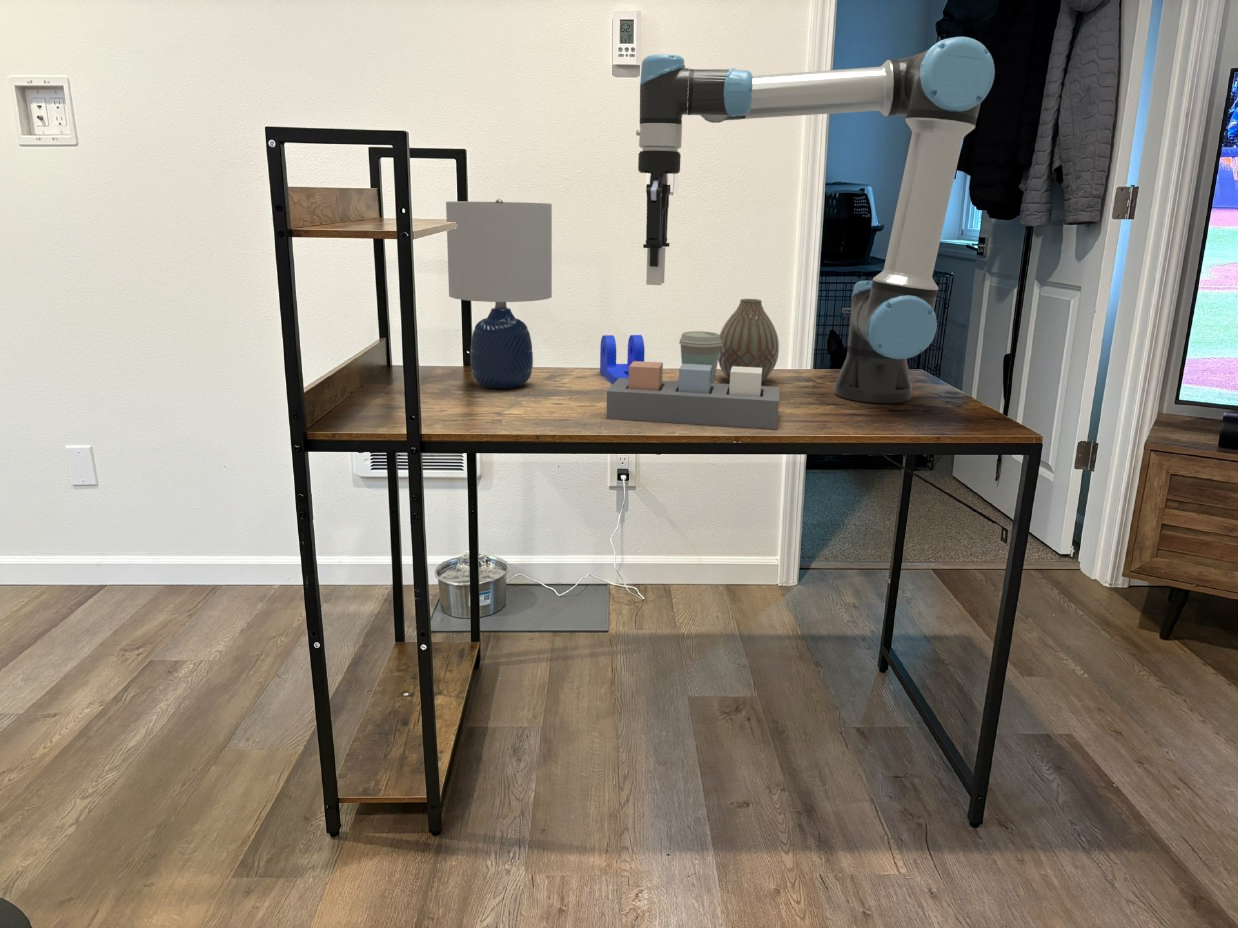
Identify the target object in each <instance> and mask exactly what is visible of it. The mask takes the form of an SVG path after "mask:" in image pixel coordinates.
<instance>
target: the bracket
mask: <svg viewBox="0 0 1238 928" xmlns="http://www.w3.org/2000/svg"><path fill="white" fill-rule="evenodd" d="M627 341H628V342H627V363H617V341H616V338H615V335H614V334H613V335H611V334H607V335H606V334H605V335H602V337H601V338H600V347H599V348H600V351H599V355H600V356H599V357H600V358H599V361H600V362H599V364H600V365H599V373H600V374H601V376H603V378H604V379H606V380H607V381H609V383H610V384H611V385H613V384H614V383H615V382H616V380H617V379H618V378H627V379H629V366H630V365H631V364H632V362H633V361H642V362H645V342H644V337H643V335H641V334H631V335H629V337H628V340H627Z"/></svg>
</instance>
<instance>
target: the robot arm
mask: <svg viewBox="0 0 1238 928" xmlns="http://www.w3.org/2000/svg"><path fill="white" fill-rule="evenodd" d="M640 68H641V72H640V83H639V129H637V130H635V135H636V136H638V137H639V138H638V141H639V142H638V145H639V146H638V147H639V148H640V149H642V150H641V151H639V152H638V155H637V156H638V158H637V159H638V161H637V162H638V163H637V164H638V165H637V166H638V167H637V168H638V169H637V170H638V173H641V174H650V178H649V183H647V184H646V186H645V188H646V189H645V194H646V223H645V224H646V228H645V229H646V231H645V232H646V234H645V243H644V244H643V245H642V248H643V249H647V250H646V251H647V252H646V279H645V281H646V282H645V283H646V284H645V285H646V286H647V285H648V286H662V284H665V271H666V270H665V268H666V248H670V244H671V243H670V242H667V241H668V224H669V223H668V219H669V206H670V194H671V184H668V174H670V175H671V174H672V175H675V174H676V175H677V174H679V173H681V172H680V171H681V153H680V151H678V150H679V149H681V148H682V141H683V140H682V139H683V137H682V136H683V135H682V134H683V124H682V122H683V115H684V116H685V115H686V116H700V117H702V118H703V119H704V121H707V122H709V123H713V124H714V123H715V124H718V123H722V122H725V121H738V120H750V119H763V118H765V119H766V118H780V117H799V116H811V115H812V116H813V115H828V114H829V115H831V114H843V113H845V114H846V113H859V112H860V113H862V112H875V111H876V112H880V113H881V114H882V115H883V116H884V117H888V116H890V117H891V116H906V117H905V122H906V125H908V128H909V129H910V130H911V137H910V142H909V145H908V152H907V157H906V161H905V165H904V170H903V175H902V180H901V185H900V190H899V195H898V200H897V205H896V209H895V214H894V220H893V222H892V223H893V224H892V229H891V233H890V236H889V237H890V238H889V243H888V247H887V248H888V249H887V252H886V258H885V263H884V265H883V266H884V267H883V270H882V271H881V272H880V273H878V274H877V275H875V276H874V277H873V278H872V280H859V281H857V282H856V283H855V284H854V286H853V289H852V295H851V310H850V312H851V313H850V320H849V331H848V332H849V333H848V339H847V340H848V342H847V353H846V358H845V360H844V362H843V365H842V367H841V368H840V371H839V374H838V376H837V379H836V380H835V384H834V385H835V386H834V394H835V395H836V396H838V397H839V398H843V399H847V400H851V401H857V402H863V403H872V404H874V403H875V404H899V403H905V402H908V401H910V400H912V395H913V385H912V380H911V375H910V370H909V365H908V360H907V359H911V358H914V357H916V356H918V355H919V354H921V353H923V352H924V351H925V350H926V349H927V348H929V346H930V345H931V343H932V342H933V340H934V338H935V336H936V333H937V329H938V327H937V326H938V321H937V315H936V312H935V306H936V301H937V296H938V292H939V286H938V285H937V284H936V282H935V280H934V278H933V276H934V270H935V265H936V261H937V256H938V253H939V249H940V248H939V247H940V243H941V239H942V233H943V229H944V224H945V220H946V215H947V213H948V208H949V204H950V203H949V202H950V198H951V194H952V190H953V186H954V182H955V176H956V172H957V167H958V163H959V158H960V154H961V150H962V146H963V141H964V138H965V137H966V136H967V135H968V134H969V133H970V132H972V131H973V130H975V129H976V123H977V120H978V115H979V112H980V109H981V108H980V107H981V103H982V102H983V101H984V100H985V99H986V97H987V96H988V94H989V93H990V91H991V89H992V86H993V84H994V80H995V73H996V71H995V63H994V59H993V56H992V54H991V53H990V51H989V50H988V48H986V46H985V45H984V44H983V43H982V42H980V41H978V40H976V39H975V38H971V37H967V36H955V37H949V38H944V39H942V40H939V41H938V42H936V43H935V44H933V45H932V46H931V47H930V48H929V49H927V50H925V51H922V52H921V53H918V54H915V55H912V56H907V57H904V58H897V59H887V60H885V62H884V63H883V64H882V65H880V66H873V67H872V66H871V67H859V68H858V67H856V68H845V69H843V68H842V69H829V70H828V69H827V70H815V71H801V72H787V73H774V74H773V73H771V74H770V73H769V74H760V75H759V74H758V75H752V72H751V71H749V70H747V69H736V68H729V69H728V68H727V69H725V68H723V69H721V68H720V69H719V68H718V69H715V68H714V69H713V68H710V69H709V68H707V69H706V68H705V69H703V68H702V69H698V68H697V69H696V68H695V69H694V68H690V67H689V68H688V67H687V68H686V65H685V59H684V57H682V56H681V55H677V54H667V53H666V54H665V53H664V54H659V53H658V54H651V55H647V56H646V57H644V58H643V60H642V61H641V67H640Z"/></svg>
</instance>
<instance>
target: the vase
mask: <svg viewBox="0 0 1238 928" xmlns="http://www.w3.org/2000/svg"><path fill="white" fill-rule="evenodd" d="M762 303H763V301H762V300H761V299H757V298H741V299H740V301H739V304H738V306H737V308H736V309H735V310H734V312H733V313H732V314H731V315H730V317H728V319H727V320H726V322H725V323H724V325H723V327H722V329H721V331H720V333H719V335H720V339H721V341H722V342H721V344H722V345H721V346H720V351H719V357H718V365H719V367H720V370H721V371H722V373H723V374H724V375H725V376H726V378H727V379H729V380H730V371H731V368H732V366H737V367H756V368H762V379H761V383H762V382H763V381H764V380H766V378H768V377H769V376H770V375H771V374H772V372H773V371H774V368H775V367H776V364H777V362H778V359H779V352H780V350H779V349H780V341H779V336H778V333H777V330H776V328H775V326H774V324H773V322H772V320H771V319H770V317H769V315H768V314H767V313H766V311H765V309H764V307H763V305H762Z"/></svg>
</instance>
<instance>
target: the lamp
mask: <svg viewBox="0 0 1238 928" xmlns="http://www.w3.org/2000/svg"><path fill="white" fill-rule="evenodd" d="M552 205H553V204H552V203H547V202H546V203H545V202H544V203H543V202H518V201H517V202H515V201H512V202H511V201H503V200H502V199H500V198H499V199H496V200H495V201H469V200H468V201H465V200H464V201H460V200H459V201H458V200H457V201H454V200H453V201H452V200H451V201H445V208H446V209H445V211H446V223H447V222H456V224H458V225H457V227H458V228H456V229H452V230H449V231H447V230H446V243H447V246H446V247H447V273H448V275H447V276H448V297H450V298H452V299H455V300H462V301H469V302H470V301H472V302H485V303H486V302H487V303H489V302H490V303H495V304H494V305H495V306H494V307H492V308H491V309H490V312H489V314H488V316H487V317H485V318H483V319H481V320H479V321H478V322H477V323H476V324H475V326H474V330H473V332H472V335H471V342H470V352H469V353H470V354H469V355H470V356H469V357H470V359H469V360H470V368H471V373H472V377H473V378H474V379H475V381H476V382H477V383H478V384H479V385H481V386H483V387H485V388H488V389H494V390H495V389H496V390H502V389H503V390H505V389H506V390H508V389H511V390H512V389H517V388H520V387H522V386H524V384H525V383H527V382H528V380H529V379H530V378H531V376H532V373H533V368H534V365H533V364H534V363H533V362H534V358H533V355H534V354H533V353H534V351H533V345H532V338H531V337H532V336H531V333H530V331H529V329H528V326H527V325H526V323H525V322H524V321H522V320H521V319H519V318H516V317H515V315H514V313H512V309H511V308H509V307H507V303H517V302H518V303H520V302H522V303H523V302H535V301H543V300H549V299H551V298H552V294H553V293H552V292H553V291H552V287H553V286H552V284H553V283H552V281H553V277H552V276H553V275H552V274H553V273H552V272H553V271H552V270H553V269H552V266H553V263H552V262H553V261H552V260H553V259H552V258H553V257H552V255H553V254H552V253H553V250H552V249H553V248H552V246H553V245H552V244H553V238H552V237H553V235H552V233H553V232H552V231H553V229H552V227H553V225H552V222H553V221H552V219H553V217H552V216H553V214H552V213H553V210H552V209H553V207H552Z"/></svg>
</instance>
